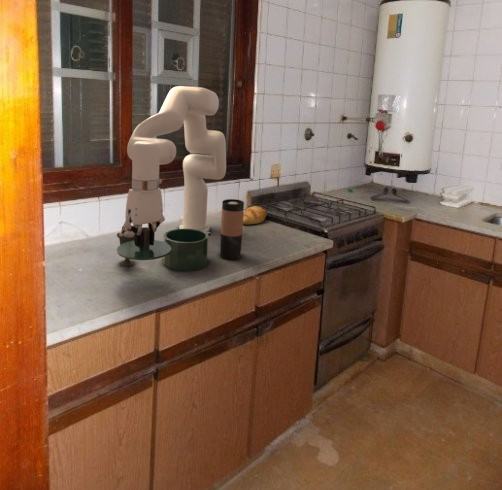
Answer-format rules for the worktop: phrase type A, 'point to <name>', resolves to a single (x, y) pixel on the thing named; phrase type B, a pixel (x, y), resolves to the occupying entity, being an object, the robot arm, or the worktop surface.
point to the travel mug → (231, 229)
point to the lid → (144, 248)
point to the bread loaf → (254, 215)
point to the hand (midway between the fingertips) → (144, 244)
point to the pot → (186, 249)
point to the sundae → (125, 237)
